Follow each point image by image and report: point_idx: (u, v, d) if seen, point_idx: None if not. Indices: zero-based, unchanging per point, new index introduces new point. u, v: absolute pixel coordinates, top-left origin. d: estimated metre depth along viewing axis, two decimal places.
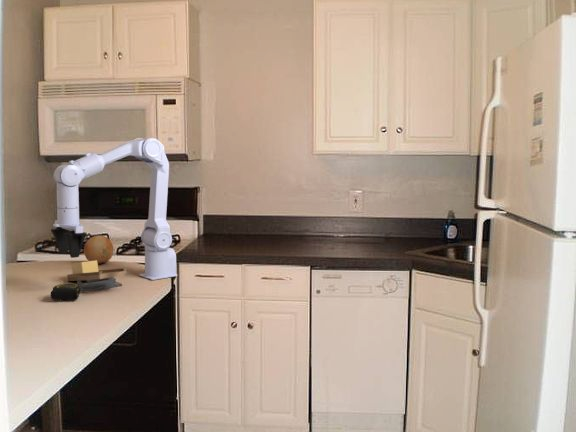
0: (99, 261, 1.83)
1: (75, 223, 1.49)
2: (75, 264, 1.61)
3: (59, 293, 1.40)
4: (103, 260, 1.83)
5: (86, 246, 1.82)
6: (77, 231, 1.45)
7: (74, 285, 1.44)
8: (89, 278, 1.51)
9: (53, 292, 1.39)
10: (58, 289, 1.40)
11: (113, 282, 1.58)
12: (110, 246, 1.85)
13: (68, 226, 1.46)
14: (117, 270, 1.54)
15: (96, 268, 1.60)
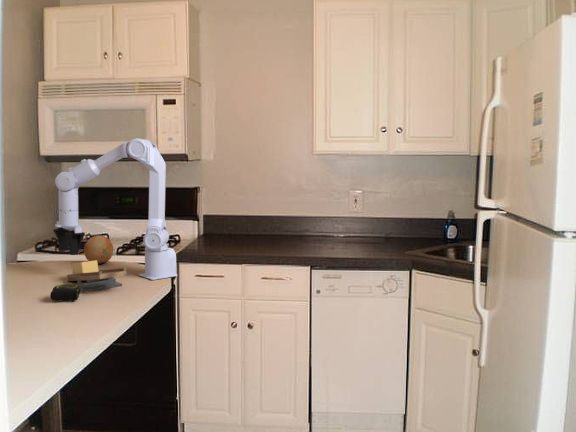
0: (99, 261, 1.83)
1: (75, 224, 1.67)
2: (75, 264, 1.61)
3: (59, 294, 1.39)
4: (103, 260, 1.83)
5: (86, 246, 1.82)
6: (76, 231, 1.63)
7: (74, 285, 1.44)
8: (89, 278, 1.51)
9: (53, 292, 1.39)
10: (58, 289, 1.40)
11: (113, 282, 1.58)
12: (110, 246, 1.85)
13: (68, 226, 1.64)
14: (117, 270, 1.54)
15: (96, 268, 1.60)
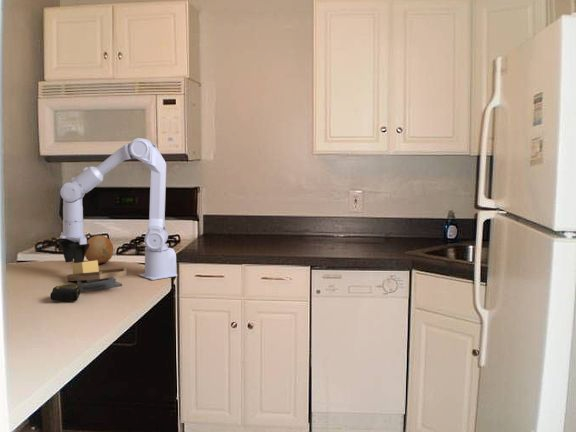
0: (99, 261, 1.83)
1: (79, 235, 1.65)
2: (75, 264, 1.60)
3: (59, 294, 1.39)
4: (103, 260, 1.83)
5: None
6: (81, 242, 1.61)
7: (74, 286, 1.43)
8: (89, 278, 1.51)
9: (53, 293, 1.38)
10: (58, 290, 1.39)
11: (113, 282, 1.58)
12: (110, 246, 1.85)
13: (73, 238, 1.62)
14: (117, 270, 1.54)
15: (96, 268, 1.60)
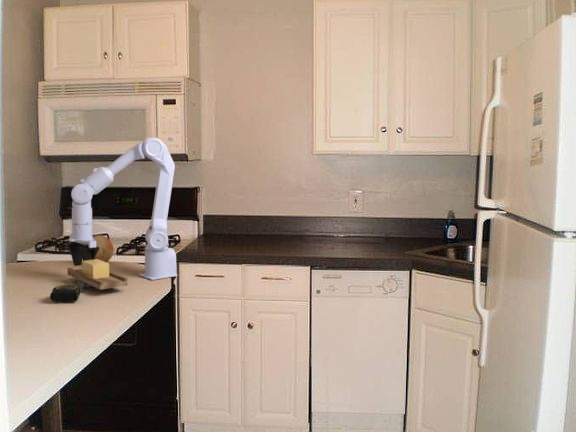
0: None
1: (89, 238, 1.60)
2: (86, 264, 1.55)
3: (59, 294, 1.38)
4: (103, 260, 1.83)
5: None
6: (91, 246, 1.56)
7: (74, 286, 1.43)
8: (89, 283, 1.51)
9: (53, 293, 1.38)
10: (58, 290, 1.39)
11: None
12: (110, 246, 1.85)
13: (82, 241, 1.57)
14: (118, 277, 1.53)
15: (107, 271, 1.55)
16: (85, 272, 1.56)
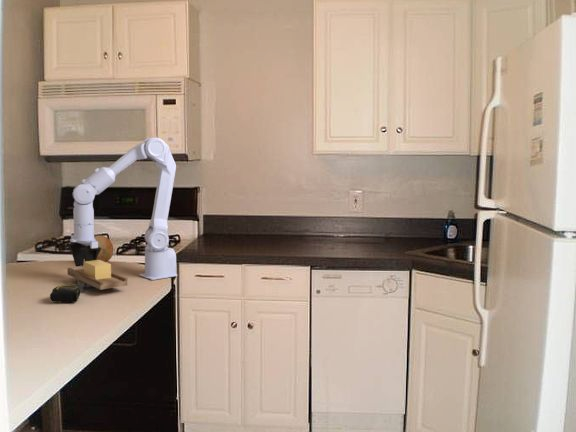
0: None
1: (90, 238, 1.59)
2: (88, 264, 1.54)
3: (59, 295, 1.38)
4: (103, 260, 1.83)
5: None
6: (92, 246, 1.55)
7: (74, 287, 1.42)
8: (89, 283, 1.51)
9: (53, 294, 1.38)
10: (58, 291, 1.39)
11: None
12: (110, 246, 1.85)
13: (84, 241, 1.57)
14: (118, 277, 1.53)
15: (109, 272, 1.54)
16: (87, 273, 1.55)
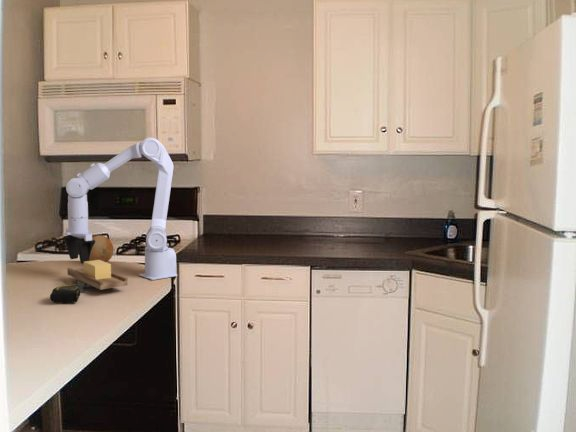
0: None
1: (85, 231, 1.62)
2: (88, 264, 1.54)
3: (59, 295, 1.38)
4: (103, 260, 1.83)
5: None
6: (87, 239, 1.58)
7: (74, 287, 1.42)
8: (89, 283, 1.51)
9: (53, 294, 1.37)
10: (58, 291, 1.38)
11: None
12: (110, 246, 1.85)
13: (78, 234, 1.59)
14: (118, 277, 1.53)
15: (109, 272, 1.54)
16: (87, 273, 1.55)
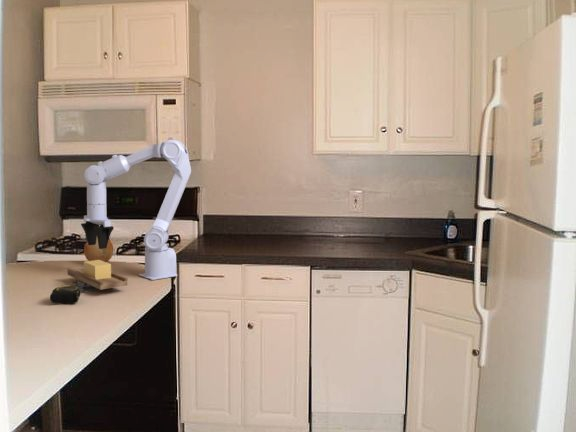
0: None
1: (103, 218, 1.66)
2: (88, 264, 1.54)
3: (59, 296, 1.37)
4: (103, 260, 1.83)
5: (86, 246, 1.82)
6: (105, 225, 1.62)
7: (74, 288, 1.41)
8: (89, 283, 1.51)
9: (53, 295, 1.37)
10: (58, 292, 1.38)
11: None
12: (110, 246, 1.85)
13: (97, 220, 1.63)
14: (118, 277, 1.53)
15: (109, 272, 1.54)
16: (87, 273, 1.55)
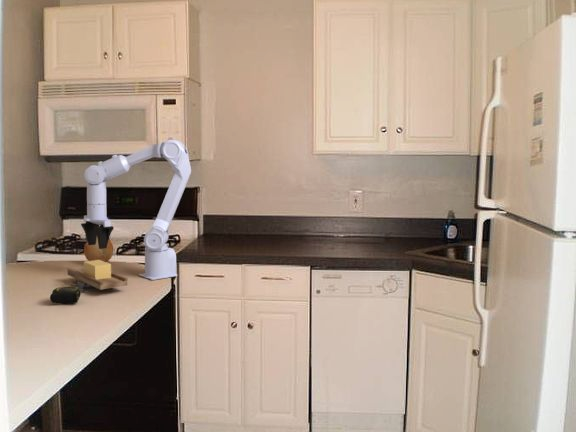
0: None
1: (103, 218, 1.66)
2: (88, 264, 1.54)
3: (59, 296, 1.37)
4: (103, 260, 1.83)
5: (86, 246, 1.82)
6: (105, 225, 1.62)
7: (74, 288, 1.41)
8: (89, 283, 1.51)
9: (53, 295, 1.36)
10: (58, 292, 1.37)
11: None
12: (110, 246, 1.85)
13: (97, 220, 1.63)
14: (118, 277, 1.53)
15: (109, 272, 1.54)
16: (87, 273, 1.55)
